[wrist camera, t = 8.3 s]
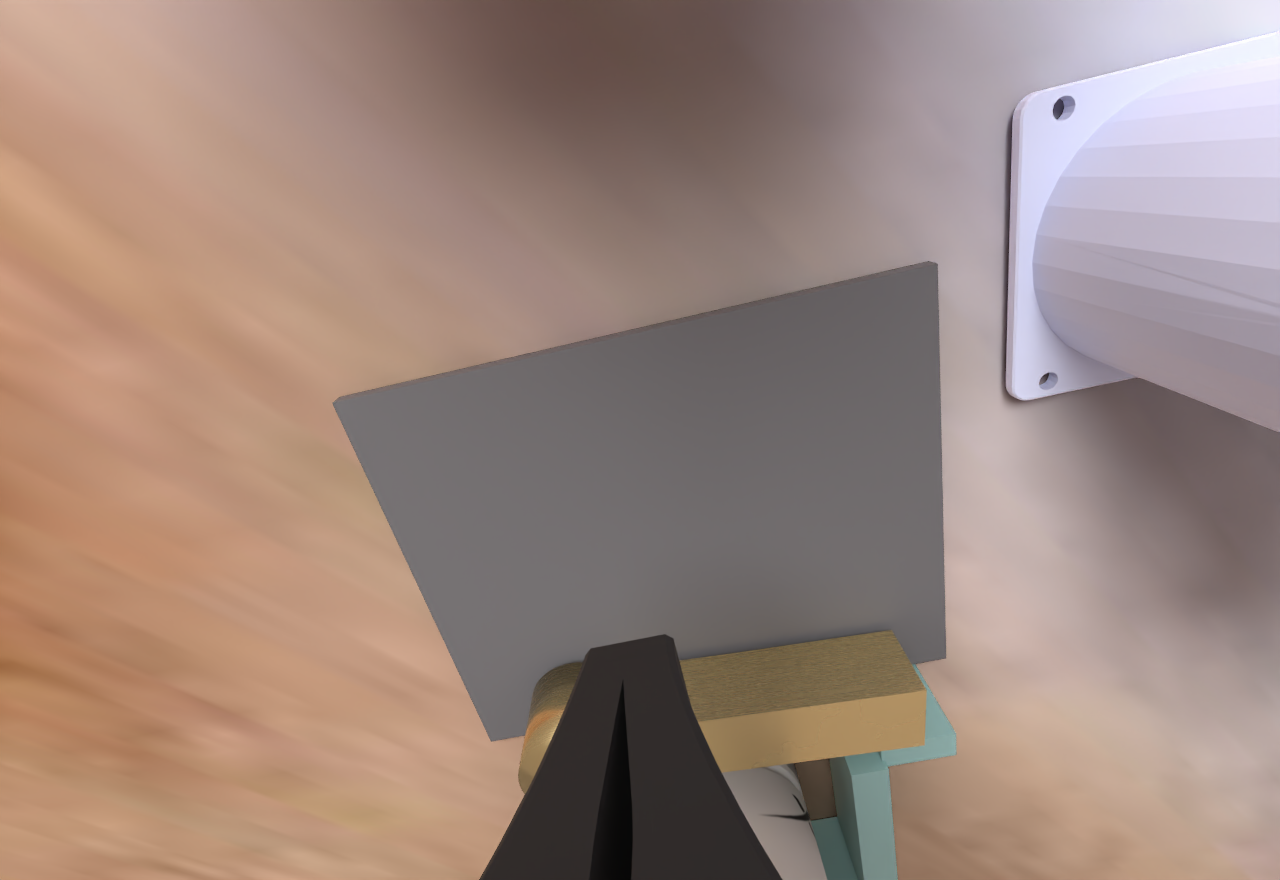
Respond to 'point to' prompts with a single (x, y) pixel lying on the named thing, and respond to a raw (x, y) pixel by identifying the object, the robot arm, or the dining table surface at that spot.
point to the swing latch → (776, 703)
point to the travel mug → (779, 819)
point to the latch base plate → (675, 486)
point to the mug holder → (873, 803)
